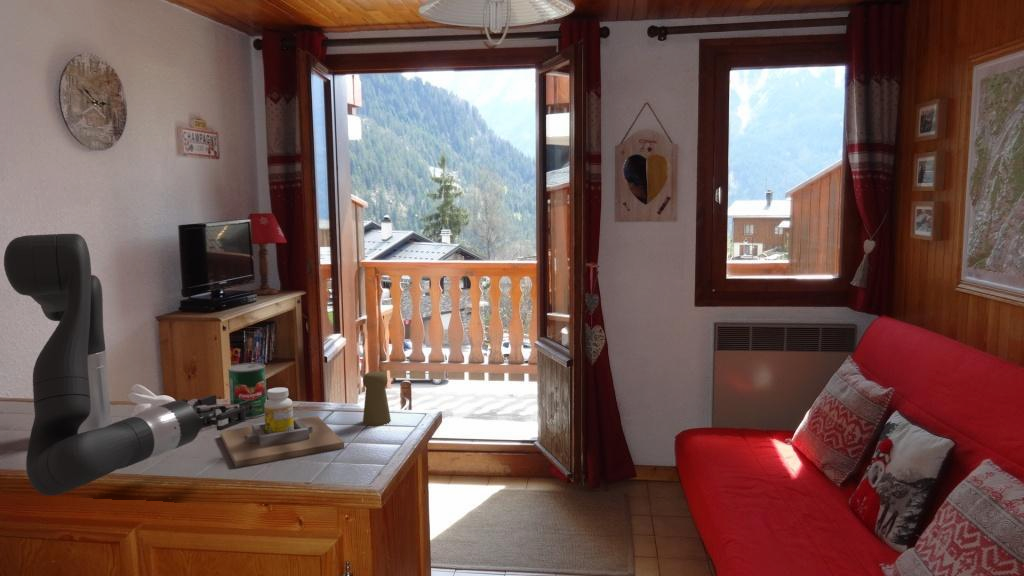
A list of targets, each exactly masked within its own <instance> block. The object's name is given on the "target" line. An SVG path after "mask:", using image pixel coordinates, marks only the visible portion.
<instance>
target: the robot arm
mask: <svg viewBox="0 0 1024 576" xmlns="http://www.w3.org/2000/svg"><path fill="white" fill-rule="evenodd" d="M89 251H90V250H89V247H88V244H87V242H86V239H85V238H84V237H83V235H81V234H78V233H54V234H53V233H51V234H50V233H49V234H30V235H29V234H28V235H21V236H18V237H14V238H13V239H12V240H11V241H10V242H9V243H8V244H7V246H6V248H5V250H4V255H3V268H4V272H5V276H6V278H7V280H8V283H9V284H10V285H11V287H12V289H13V290H14V291H15V292H16V293H18V294H19V295H22V296H28V297H30V298H31V299H33V301H34V302H35V303H37V304H38V305H40V307H41V310H42V312H43V314H44V316H45V317H46V318H47V319H48V320H50V321H52V322H59V323H58V324H57V326H56V328H55V329H54V331H53V332H52V333H51V335H50V337H49V338H48V340H47V341H46V343H45V345H44V346H43V348H42V349H41V350H40V352H39V354H38V356H37V358H36V361H35V363H34V366H33V372H32V395H33V396H32V397H33V409H34V418H33V423H32V427H31V431H30V437H29V440H28V441H29V442H28V446H27V447H28V448H27V451H26V452H27V453H26V459H25V467H26V470H25V471H26V473H27V479H28V481H29V482H30V485H31V486H32V488H33V489H34V490H35V491H36V492H38V493H40V494H41V495H44V496H50V497H52V496H59V495H62V494H65V493H68V492H69V491H72V490H75V489H77V488H80V487H82V486H84V485H87V484H89V483H91V482H94V481H96V480H99V479H100V478H103V477H105V476H107V475H108V474H111V473H113V472H115V471H116V470H121V469H124V468H127V467H129V466H133V465H136V464H138V463H140V462H142V461H145V460H147V459H151V458H155V457H159V456H161V455H163V454H166V453H168V452H171V451H173V450H175V449H178V448H180V447H182V446H186V445H187V444H190V443H192V442H193V441H194V440H195V439H197V437H198V435H199V433H200V432H201V430H208V429H210V428H211V427H216V431H225V430H227V429H228V428H230V427H234V426H237V425H238V424H242V423H244V422H246V420H247V419H246V418H245V414H247V413H250V412H252V411H253V401H252V400H246V401H243V402H240V403H238V404H235V405H230V404H229V405H225V404H223V403H218V401H217V395H216V394H210V395H207V396H205V397H201V398H198V399H197V398H193V399H190V400H188V398H182V399H180V400H179V399H178V400H177V399H175V400H176V401H172V402H169V403H167V404H164V405H161V406H158V407H155V408H152V409H149V410H146V411H143V412H141V413H139V414H137V415H135V416H133V417H131V416H130V417H128V418H125V419H122V420H119V421H116V422H113V421H112V413H111V410H112V409H111V401H110V400H111V397H110V388H109V387H110V386H109V385H110V384H109V375H108V365H107V364H108V362H107V351H106V341H105V331H104V309H103V308H104V307H103V305H104V304H103V300H104V299H103V286H102V284H101V279H99V277H98V276H96V275H95V274H92V264H91V263H92V262H91V257H90V252H89ZM217 410H219V413H218V414H217ZM112 422H113V423H112Z"/></svg>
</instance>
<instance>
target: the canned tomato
mask: <svg viewBox="0 0 1024 576" xmlns="http://www.w3.org/2000/svg"><path fill="white" fill-rule="evenodd" d="M227 370H228V384H229V387H228V389H229V401H230V403H229V405H235V404H238V403H240V402H243V401H246V400H252V401H253V411H252V412H250V413H247V414H245V418H246V420H249V419H250V418H251V419H256V418H260V417H263V416H265V410H264V404H265V402H266V401H267V400H268V397H267V380H266V365H265V364H264V363H260V362H245V363H244V362H243V363H237V364H233V365H230V366H229V367H228V368H227Z"/></svg>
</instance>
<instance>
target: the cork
mask: <svg viewBox="0 0 1024 576" xmlns="http://www.w3.org/2000/svg"><path fill="white" fill-rule="evenodd" d="M388 380H389V379H388V375H387V374H386V373H385V372H383V371H369V372H366V373H365V374H364V375H363V378H362V383H363V386H364V387H365V394H364V405H363V407H364V408H363V416H362V424H363V425H365V426H367V425H368V426H367V427H378V426H379V425H381V426H385V425H387V423H388V424H390V423H391V422H392V420H391V413H390V407H389V402H388V401H389V400H388V397H387V390H386V386H387V385H388V382H389V381H388ZM390 421H391V422H390ZM389 422H390V423H389ZM384 424H385V425H384Z"/></svg>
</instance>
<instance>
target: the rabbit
mask: <svg viewBox="0 0 1024 576" xmlns="http://www.w3.org/2000/svg"><path fill="white" fill-rule="evenodd" d="M130 389H131V391H132V392H129V393H128V394H127V398H128V400H129V401H130V402H132V403H134V404H137V405H136V406H134V408H133V410H132V411H131V414H130V417H133V416H135V415H137V414H139V413H141V412H143V411H146V410H149V409H152V408H155V407H158V406H161V405H164V404H167V403H169V402H172V401H176V400H177V399H175V398H173V397H171V396H169V395H164V394H163V395H156V394H154V393H153V392H152V391H150V390H149V388H146V387H145V386H144V385H142V384H134V385H132V386H131V388H130Z"/></svg>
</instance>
